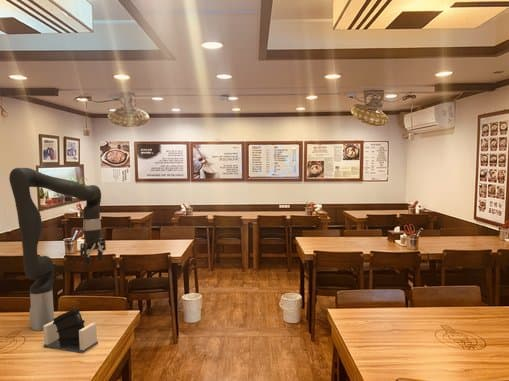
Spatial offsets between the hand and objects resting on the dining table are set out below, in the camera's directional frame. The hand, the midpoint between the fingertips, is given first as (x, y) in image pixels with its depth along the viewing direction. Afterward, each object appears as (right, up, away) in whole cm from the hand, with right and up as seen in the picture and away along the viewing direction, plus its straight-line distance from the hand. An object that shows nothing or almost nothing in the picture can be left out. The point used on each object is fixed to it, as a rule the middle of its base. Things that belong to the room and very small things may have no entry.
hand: (94, 262), depth 182 cm
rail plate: (-2, -32, -18) cm, 36 cm away
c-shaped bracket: (-2, -32, -18) cm, 36 cm away
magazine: (-3, -31, -18) cm, 36 cm away
